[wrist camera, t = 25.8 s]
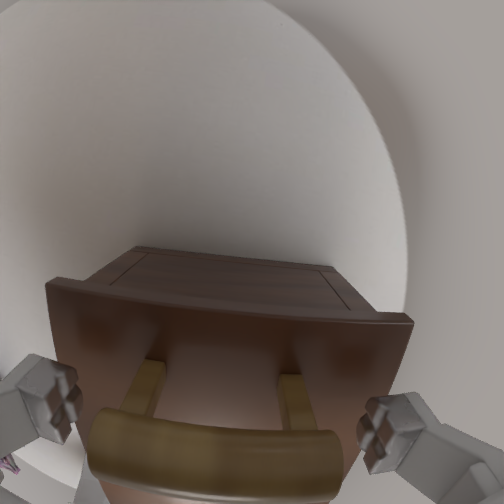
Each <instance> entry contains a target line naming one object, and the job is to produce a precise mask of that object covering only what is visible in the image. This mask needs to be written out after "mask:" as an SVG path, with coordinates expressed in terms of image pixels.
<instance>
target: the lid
mask: <svg viewBox="0 0 504 504" xmlns="http://www.w3.org/2000/svg"><path fill="white" fill-rule="evenodd" d="M45 289H46V297H47V305H48V312H49V319H50V325H51V331H52V336H53V342H54V347H55V352H56V356H57V361H58V362H60V363H63V364H66V365H69V366H72V367H74V368H75V369H76V370H77V374H78V378H79V379H78V381H77V382H76V385H77V386H78V387H79V388H80V389H81V391H82V395H83V409H82V413H81V415H80V417H79V419H78V420H77V421H75V424H76V427H77V430H78V433H79V435H80V438H81V441H82V443H83V446H84V448H85V451H86V453H87V462H88V467H89V470H90V472H91V474H92V475H93V476H94V477H95V478H97V479H98V481H99V483H100V485H101V487H102V489H103V491H104V493H105V495H106V497H107V499H108V501H109V503H110V504H329V502H330V501H331V500H333V499H334V498H335V497H336V496H337V494H338V493H339V490H340V488H341V485H342V482H343V480H344V479H345V477H346V475H347V474H348V472H349V471H350V469H351V467H352V465H353V464H354V462H355V460H356V458H357V456H358V455H359V453H360V451H361V449H360V448H359V447H358V444H357V441H356V426H357V424H358V421H359V419H360V418H361V417H362V416H363V415H364V414H366V413H367V412H366V410H365V408H364V407H365V405H366V403H367V401H368V400H369V399H370V397H376V396H387V395H388V394H389V391H390V389H391V387H392V384H393V382H394V379H395V377H396V374H397V372H398V369H399V367H400V364H401V361H402V359H403V356H404V353H405V351H406V348H407V345H408V342H409V339H410V336H411V333H412V330H413V327H414V321H413V320H412V319H411V318H410V317H409V316H407V315H406V314H405V313H396V312H370V311H349V310H332V309H317V308H302V307H289V306H277V305H266V304H255V303H244V302H234V301H225V300H215V299H207V298H198V297H190V296H181V295H174V294H166V293H158V292H151V291H144V290H137V289H130V288H123V287H117V286H110V285H104V284H98V283H92V282H86V281H80V280H74V279H68V278H63V277H55V278H54V279H52V280H50V281H49V282H47V283H46V284H45Z"/></svg>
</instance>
